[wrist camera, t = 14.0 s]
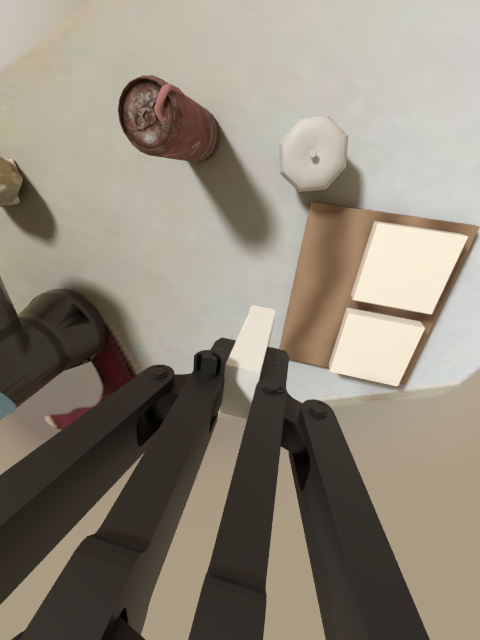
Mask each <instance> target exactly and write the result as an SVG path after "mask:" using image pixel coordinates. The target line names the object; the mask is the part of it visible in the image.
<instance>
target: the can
mask: <svg viewBox="0 0 480 640" xmlns="http://www.w3.org/2000/svg"><path fill="white" fill-rule="evenodd" d="M118 113H119V121H120V124H121V127H122V129H123V132H124V133H125V135H126V136H127V138H128V139H129V141H130V142H131V143H132V145H133V146H135V147H136V148H137V149H138V150H139V151H140V152H143V153H145V154H148V155H151V156H158V157H165V158H171V159H178V160H185V161H191V162H203V161H205V160H208V159H209V158H210V157H211V156H212V155H213V154H214V153H215V151H216V149H217V147H218V143H219V128H218V124H217V121H216V120H215V118H214V116H213V115H212V114H211V113H210V112H209V111H208V110H207V109H205V108H204V107H202V106H201V105H199V104H198V103H196V102H195V101H193V100H192V99H190V98H189V97H187V96H186V95H184V94H183V92H182V91H181V90H180V89H179V88H177V87H175V86H173V85H171V84H168V83H167V82H165V81H164V80H162V79H160V78H157V77H155V76H152V75H151V76H141V77H139V78H136V79H134V80H132V81H130V82H129V83H128V84H127V86H126V87H125V88H124V89H123V91H122V94H121V96H120V99H119V107H118Z"/></svg>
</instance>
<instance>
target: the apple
mask: <svg viewBox="0 0 480 640" xmlns="http://www.w3.org/2000/svg"><path fill="white" fill-rule="evenodd" d="M347 144H348V135H347V134H346V133H345V132H344V131H343V130H342V129H341V128H340V127H339V126H338V125H337V124H336V123H335V122H334V121H333V120H332V119H331V118H330V117H329V116H328V115H324V116H317V117H310V118H302V119H298V120H297V122H296V123H295V124H294V126H293V127H292V128H291V130H290V131H289V132H288V133H287V135H286V136H285V137H284V139H283V140H282V141H281V143H280V144H279V148H280V174H281V175H282V176H283V177H284V178H285V179H286V180H287V181H288V182H289V183H291V184H292V185H293V186H294V187H295V188H296V189H297V190H298V191H299V192H303V191H315V190H326V189H327V188H328V187H329V186H330V184H331V183H332V182H333V181H334V180H335V179H336V178H337V177H338V176H339V175H340V174H341V172H342V171H343V170H344V169H345V168H346V163H347Z"/></svg>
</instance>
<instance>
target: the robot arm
mask: <svg viewBox="0 0 480 640" xmlns="http://www.w3.org/2000/svg"><path fill="white" fill-rule="evenodd" d="M275 312H276V310H274V309H269V308H264V307H259V306H254V305H252V307H251V309H250V311H249V313H248V316H247V318H246V320H245V322H244V325H243V327H242V329H241V331H240V333H239V336H238V338H237V340H236V341H235V340H230V339H226V338H220V339H219V340H217V341H215V343H214V345H213V347H212V348H211V350H204V351H200V352H198V353H196V354H195V355H194V370H193V372H192V373H191V374H184V375H174V371H173V369H172V368H170V367H169V366H166V365H154V366H151V367H149V368H147V369H145V370H144V371H143V372H141V373H140V374H139V375H137V376H136V377H134V378H133V379H132V380H130V381H129V382H128V383H126V384H125V385H123V386H122V387H121V388H119V389H118V390H117V391H115V392H114V393H112V394H111V395H110V396H108V397H107V398H106V399H104V400H103V401H101V402H100V403H99V404H97V405H96V406H95V407H93V408H92V409H90V410H89V411H88V412H86V413H85V414H84V415H82V416H81V417H79V418H78V419H77V420H75V421H74V422H73V423H71V424H70V425H68V426H67V427H66V428H64V429H63V430H62V431H60V432H59V433H57V434H56V435H55V436H54V437H52V438H51V439H49V440H48V441H47V442H45V443H44V444H42V445H41V446H40V447H38V448H37V449H36V450H34V451H33V452H31V453H30V454H29V455H27V456H26V457H24V458H23V459H22V460H20V461H19V462H18V463H16V464H15V465H14V466H12V467H11V468H9V469H8V470H7V471H5V472H4V473H2V474H1V475H0V604H1V603H2V602H3V601H4V600H5V599H6V598H7V597H8V596H9V595H10V594H11V593H12V592H13V591H14V590H15V589H16V588H17V587H18V585H19V584H20V583H21V582H22V581H23V580H24V579H25V578H26V577H27V576H28V575H29V574H30V573H31V572H32V571H33V570H34V568H35V567H36V566H37V565H38V564H39V563H40V562H41V561H42V560H43V559H44V558H45V557H46V556H47V555H48V554H49V552H50V551H52V549H53V548H54V547H55V546H56V545H57V544H58V543H59V542H60V541H61V540H62V539H63V538H64V537H65V536H66V535H67V534H68V533H69V531H70V530H71V529H72V528H73V527H74V526H75V525H76V524H77V523H78V522H79V521H80V520H81V519H82V518H83V517H84V516H85V515H86V513H87V512H88V511H89V510H90V509H91V508H92V507H93V506H94V505H95V504H96V503H97V502H98V501H99V500H100V498H101V497H102V496H103V495H104V494H105V493H106V492H107V491H108V490H109V489H110V488H111V487H112V486H113V485H114V484H115V483H116V482H117V481H118V479H119V478H120V477H121V476H122V475H123V474H124V473H125V472H126V471H127V470H128V469H129V468H130V467H131V466H132V465H133V464H134V463H135V462H136V461H137V459H138V458H139V457H140V456H141V455H142V454H143V453H144V452H145V453H144V455H143V457H142V458H141V460H140V461H139V463H138V465H137V466H136V468H135V470H134V471H133V473H132V475H131V476H130V478H129V480H128V481H127V483H126V485H125V486H124V488H123V490H122V492H121V493H120V495H119V497H118V498H117V500H116V502H115V503H114V505H113V507H112V508H111V510H110V512H109V513H108V515H107V517H106V519H105V520H104V522H103V523H102V525H101V527H100V528H99V529H98V531H97V532H96V533H95V534H93V535H90V536H87V537H86V538H85V539H84V540H83V541H82V542H81V543H80V545H79V546H78V547H77V549H76V550H75V552H74V553H73V555H72V556H71V558H70V560H69V561H68V563H67V564H66V566H65V568H64V570H63V571H62V572H61V574H60V576H59V577H58V579H57V580H56V582H55V584H54V585H53V587H52V588H51V590H50V592H49V593H48V595H47V596H46V598H45V600H44V601H43V603H42V604H41V606H40V608H39V609H38V611H37V612H36V614H35V616H34V617H33V619H32V620H31V622H30V624H29V625H28V627H27V628H26V630H24V631H23V632H21V633H20V634H18V635H17V636H16V637H14V638H13V639H12V640H145V639H144V638H143V637H142V636H141V632H142V629H143V626H144V622H145V619H146V615H147V610H148V606H149V602H150V599H151V596H152V593H153V590H154V588H155V585H156V582H157V580H158V577H159V574H160V571H161V569H162V566H163V564H164V561H165V558H166V556H167V553H168V550H169V548H170V545H171V542H172V539H173V537H174V534H175V531H176V529H177V526H178V523H179V521H180V518H181V516H182V513H183V510H184V508H185V505H186V502H187V500H188V497H189V494H190V491H191V489H192V486H193V484H194V481H195V478H196V475H197V473H198V470H199V468H200V465H201V462H202V460H203V457H204V454H205V451H206V449H207V446H208V443H209V441H210V438H211V436H212V433H213V430H214V428H215V425H216V422H217V417H218V411H219V409H220V412H221V413H225V414H229V415H233V416H237V417H241V418H245V419H247V423H246V427H245V430H244V434H243V438H242V442H241V446H240V449H239V453H238V457H237V461H236V465H235V469H234V473H233V476H232V480H231V484H230V488H229V492H228V496H227V500H226V504H225V507H224V512H223V515H222V519H221V523H220V527H219V530H218V534H217V538H216V543H215V546H214V550H213V554H212V558H211V562H210V565H209V568H208V572H207V574H206V576H205V580H204V583H203V586H202V590H201V594H200V598H199V602H198V605H197V609H196V613H195V616H194V620H193V624H192V628H191V632H190V635H189V639H188V640H263V632H264V622H265V611H266V590H265V588H266V576H267V566H268V557H269V548H270V539H271V530H272V521H273V511H274V502H275V492H276V484H277V475H278V465H279V456H280V447H283V448H285V449H286V450H288V451H289V458H290V463H291V468H292V473H293V478H294V483H295V488H296V493H297V498H298V503H299V508H300V513H301V518H302V523H303V528H304V533H305V538H306V543H307V548H308V553H309V558H310V563H311V568H312V572H313V578H314V583H315V587H316V593H317V598H318V603H319V607H320V613H321V618H322V623H323V628H324V633H325V638H326V640H429V637H428V635H427V632H426V630H425V628H424V625H423V623H422V620H421V618H420V616H419V613H418V611H417V608H416V606H415V604H414V601H413V599H412V597H411V595H410V592H409V590H408V587H407V585H406V582H405V580H404V578H403V575H402V573H401V571H400V568H399V566H398V563H397V561H396V559H395V556H394V554H393V551H392V549H391V547H390V544H389V542H388V540H387V537H386V535H385V532H384V530H383V528H382V525H381V523H380V521H379V519H378V516H377V514H376V511H375V509H374V506H373V504H372V502H371V499H370V497H369V495H368V492H367V490H366V487H365V485H364V483H363V480H362V478H361V475H360V473H359V471H358V468H357V466H356V464H355V461H354V459H353V456H352V454H351V452H350V449H349V447H348V445H347V443H346V440H345V438H344V435H343V433H342V430H341V428H340V426H339V423H338V421H337V418H336V416H335V414H334V412H333V410H332V409H331V407H329V406H328V405H327V404H326V403H324V402H321V401H319V400H314V399H313V400H307V401H305V402H304V403H301V402H299V401H297V400H295V399H293V398H292V397H291V396H290V395H289V394H288V392H287V390H286V380H287V371H288V362H289V356H288V354H287V352H286V351H285V350H280V349H276V348H271V347H269V343H270V338H271V333H272V328H273V323H274V317H275ZM106 342H107V332H106V327H105V324H104V322H103V320H102V318H101V316H100V314H99V313H98V311H97V310H96V309H95V308H94V307H93V305H92V304H91V303H89V302H88V301H87V300H86V299H85V298H83V297H82V296H80V295H78V294H76V293H74V292H72V291H69V290H65V289H53V290H49V291H47V292H45V293H42V294H40V295H38V296H37V297H35V298H34V299H33V300H32V301H31V302H30V304H29V305H28V306H27V307H26V308H25V309H24V310H23V311H22V312H21V313H20V314H19V315H17V313H16V311H15V308H14V306H13V304H12V302H11V299H10V297H9V295H8V293H7V290H6V288H5V286H4V284H3V281H2V279H1V277H0V420H1V419H2V418H4V417H5V416H7V415H8V414H10V413H12V412H14V411H15V410H16V408H17V407H19V406H20V405H21V404H22V403H23V402H25V401H26V400H27V399H29V397H31V396H32V395H34V394H35V393H36V392H37V391H39V390H40V389H41V388H42V387H44V386H45V385H46V384H47V383H49V382H50V381H51V380H52V379H54V378H55V377H56V376H57V375H59V374H60V373H61V372H63V371H65V370H68V369H71V368H74V367H77V366H79V365H82V364H85V363H88V362H90V361H91V360H93V359H94V358H95V357H97V356H98V355H99V354H100V353H101V352H102V351H103V350H104V348H105V346H106ZM220 406H221V407H220Z"/></svg>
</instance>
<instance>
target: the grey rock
mask: <svg viewBox="0 0 480 640" xmlns="http://www.w3.org/2000/svg"><path fill="white" fill-rule="evenodd" d="M22 183H23V178H22V177H21V175H20V173H19V172H18V169H17V167H16V165H15V163H14V161H13V160H12V159H4V158H2V157H0V207H1V206H4V205H14V204H18V203H19V202H20V200H19V197H18V193H19V190H20V188H21V185H22Z"/></svg>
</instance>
